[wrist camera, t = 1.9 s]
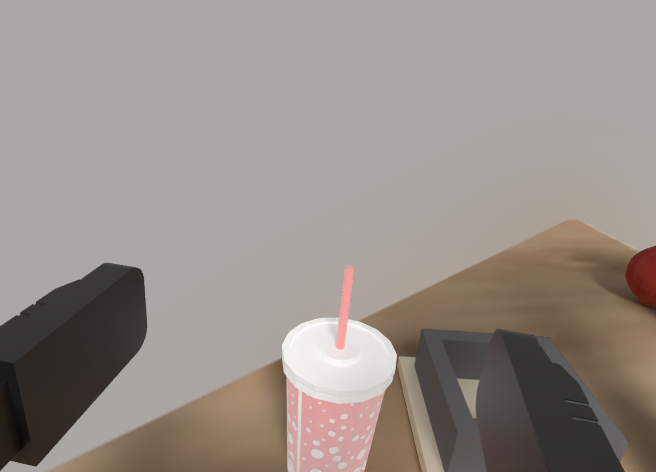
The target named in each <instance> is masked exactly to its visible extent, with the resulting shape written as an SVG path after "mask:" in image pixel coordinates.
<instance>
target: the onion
mask: <svg viewBox="0 0 656 472" xmlns="http://www.w3.org/2000/svg"><path fill="white" fill-rule="evenodd" d="M625 276H626V281H627V283H628V285H629V287H630V288H631V290H632V292H633V293H634V294H635V295H636V297H637V298H638V299H639V301H640V303H641V304H643V305H645V306H655V305H656V246H654V247H650V248H647V249H645V250H643V251H640V252H639V253H637V254H636V255H635V256H634V257H633V258H632V259H631V260H630V262H629V264H628V267H627V270H626V274H625Z"/></svg>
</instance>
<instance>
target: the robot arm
mask: <svg viewBox="0 0 656 472" xmlns="http://www.w3.org/2000/svg"><path fill="white" fill-rule="evenodd" d="M146 331H147V316H146V303H145V287H144V276H143V273H142V271H141V270H140V269H139V268H136V267H130V266H124V265H118V264H112V263H104V264H102V265H101V266H99V267H98V268H96V269H95V270H93V271H92V272H91V273H89V274H88V275H86V276H85V277H84V278H82V279H81V280H77V281H74V282H72V283H69V284H67V285H64V286H61V287H59V288H56V289H54V290H53V291H52V292H50V293H48V294H47V295H46V296H44V297H42V298H41V299H39V300H38V301H37V302H36V304H35V305H33V304H32V305H31V306H29V307H28V308H26V309H25V310H23V311H22V312H21V313H20V316H17V315H16V316H15V317H13V318H12V319H10V320H9V321H7V322H6V323H4V324H3V325H2V326H0V471H1V469H2V468H3V467H4V466H5V465H6V464H7V463H8V462H9V461H14V462H18V463H23V464H27V465H32V466H37V465H38V464H39V463H40V462H41V461H42V460H43V458H44V457H45V456H46V455H47V454H48V453H49V452H50V450H51V449H52V448H53V447H54V446H55V445H56V444H57V443H58V441H59V440H60V439H61V438H62V437H63V436H64V435H65V434H66V432H67V431H68V430H69V429H70V428H71V427H72V426H73V425H74V423H75V422H76V421H77V420H78V419H79V418H80V417H81V416H82V414H83V413H84V412H85V411H86V410H87V409H88V408H89V406H90V405H91V404H92V403H93V402H94V401H95V400H96V399H97V398H98V396H99V395H100V394H101V393H102V392H103V391H104V390H105V388H106V387H107V386H108V385H109V384H110V383H111V381H113V379H114V378H115V377H116V376H117V375H118V374H119V373H120V372H121V370H122V369H123V368H124V367H125V366H126V365H127V364H128V363H129V361H130V360H131V359H132V358H133V357H134V356H135V355H136V353H137V352H138V351H139V350H140V348H141V346H142V344H143V342H144V339H145V336H146ZM476 418H477V423H478V428H479V434H480V439H481V444H482V449H483V454H484V460H485V465H486V470H487V472H625V471H624V469H623V468H622V466H621V464H620V462H619V460H618V458H617V456H616V454H615V452H614V450H613V448H612V446H611V444H610V442H609V440H608V439H607V437H606V435H605V433H604V431H603V429H602V427H601V425H598V419H597V417H596V415H595V413H594V412H593V410H592V408H591V407H589V402H588V400H587V398H586V396H585V394H584V392H583V390H582V388H581V386H580V384H579V383H578V382H577V381H576V380H575V379H574V378H573V377H572V376H571V375H570V374H569V373H568V372H567V371H566V370H565V369H564V368H563V367H562V366H561V365H560V364H557V363H551V362H547V360H546V358H545V356H544V354H543V351H542V349H541V347H540V345H539V343H538V340H537V338H536V337H535V336H534V335H529V334H523V333H517V332H511V331H505V330H499V329H497V330H496V331H495V332H494V334H493V336H492V339H491V342H490V346H489V349H488V353H487V356H486V360H485V363H484V367H483V370H482V374H481V377H480V381H479V384H478V388H477V394H476Z"/></svg>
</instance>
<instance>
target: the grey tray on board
mask: <svg viewBox="0 0 656 472" xmlns="http://www.w3.org/2000/svg"><path fill="white" fill-rule="evenodd" d="M492 336H493V334H492V333H477V332H462V331H447V330H432V329H422V331H421V335H420V340H419V345H418V350H417V355H416V357H401V356H399V359H398V364H397V368H398V372H399V376H400V381H401V385H402V389H403V394H404V398H405V402H406V406H407V411H408V415H409V419H410V424H411V428H412V432H413V437H414V441H415V445H416V450H417V454H418V458H419V462H420V467H421V471H422V472H487V470H486V465H485V460H484V454H483V449H482V444H481V439H480V434H479V428H478V423H477V418H476V394H477V388H478V384H479V381H480V377H481V374H482V370H483V367H484V363H485V360H486V356H487V353H488V349H489V346H490V342H491V339H492ZM535 337H536V338H537V340H538V343H539V345H540V347H541V349H542V351H543V354H544V356H545V358H546V360H547V362H551V363H557V364H560V365H561V366H562V367H563V368H564V369H565V370H566V371H567V372H568V373H569V374H570V375H571V376H572V377H573V378H574V379H575V380H576V381H577V382H578V383H579V384H580V386H581V388H582V390H583V392H584V394H585V396H586V398H587V400H588V402H589V407H591V408H592V410H593V412H594V413H595V415H596V417H597V419H598V425H601V427H602V429H603V431H604V433H605V435H606V437H607V439H608V440H609V442H610V444H611V446H612V448H613V450H614V452H615V454H616V456H617V458H618V460H619V462H620V461H621V458H622V456H623V454H624V452H625V450H626V448H627V446H628V444H629V442H628V441H627V439H626V438H625V437H624V435H623V434H622V433H621V431H620V430H619V429H618V428H617V426H616V425H615V424H614V422H613V421H612V420H611V418H610V417H609V416H608V414H607V413H606V412H605V410H604V409H603V408H602V406H601V405H600V404H599V403H598V401H597V400H596V399H595V397H594V396H593V395H592V393H591V392H590V391H589V389H588V388H587V387H586V385H585V384H584V383H583V381H582V380H581V379H580V377H579V376H578V375H577V374H576V372H575V371H574V370H573V368H572V367H571V366H570V364H569V363H568V362H567V360H566V359H565V358H564V356H563V355H562V354H561V352H560V351H559V350H558V348H557V347H556V346H555V345H554V343H553V342H552V341H551V339H550V338H549V337H538V336H535Z"/></svg>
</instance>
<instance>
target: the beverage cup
mask: <svg viewBox="0 0 656 472" xmlns="http://www.w3.org/2000/svg"><path fill="white" fill-rule="evenodd" d="M354 268H355V266H354V265H352V264H346V265H345V271H344V279H343V288H342V297H341V305H340V314H339V318H318V319H315V320H312V321H308V322H304V323H301V324H300V325H299V326H297V327H296V328H294V329H293V330H291V331H290V332H289V333H288V335H287V337H286V339H285V341H284V342H283V344H282V362H283V370H284V373H285V375H286V376H287V468H288V472H364V470H365V466H366V462H367V458H368V455H369V451H370V447H371V443H372V439H373V435H374V432H375V428H376V424H377V420H378V416H379V412H380V408H381V405H382V401H383V397H384V393H385V389H386V388H387V387H388V386H389V385H390V384H391V383H392V381H393V375H394V374H395V368H396V359H397V354H396V352H395V350H394V348H393V346H392V344H391V342H390V340H388V339H387V338H386V337H385V336H384V335H383V334H381V333H380V332H379V331H378V330H377V329H375V328H372V327H370V326H368V325H366V324H364V323H361V322H359V321H354V320H349V319H348V315H349V308H350V300H351V291H352V284H353V276H354Z"/></svg>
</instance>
